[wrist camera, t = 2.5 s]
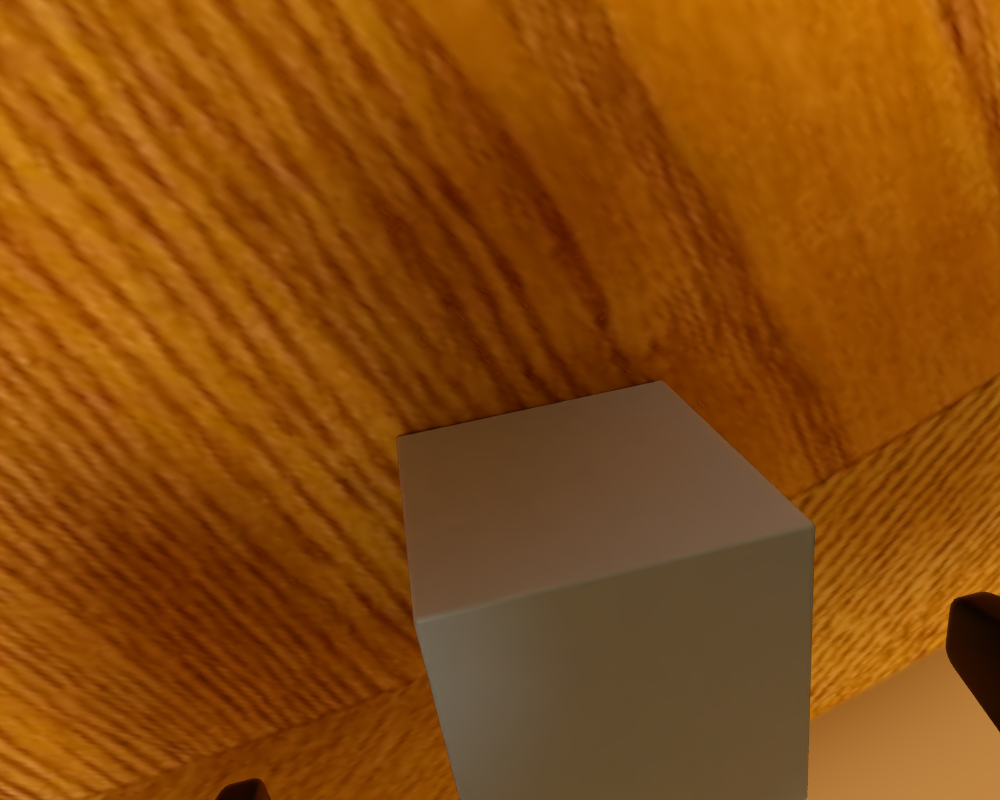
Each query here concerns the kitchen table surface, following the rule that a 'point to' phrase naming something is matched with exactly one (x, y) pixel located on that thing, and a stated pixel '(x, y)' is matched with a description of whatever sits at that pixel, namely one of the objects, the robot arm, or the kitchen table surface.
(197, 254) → the kitchen table surface
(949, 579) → the kitchen table surface
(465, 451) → the block
